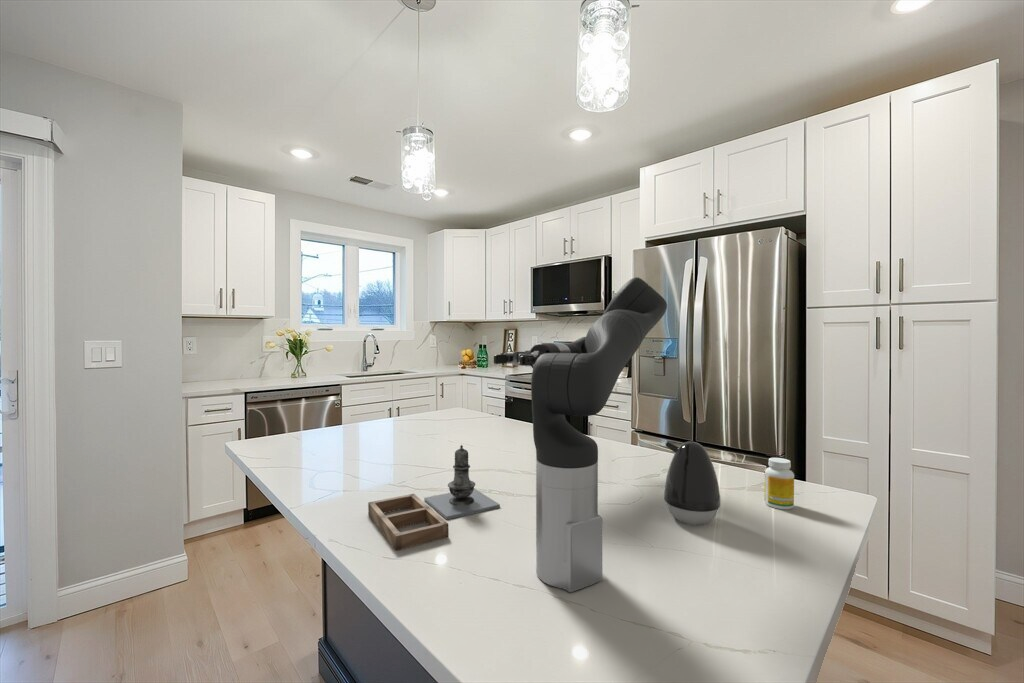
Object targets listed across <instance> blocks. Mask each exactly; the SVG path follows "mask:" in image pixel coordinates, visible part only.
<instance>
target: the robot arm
mask: <svg viewBox="0 0 1024 683" xmlns="http://www.w3.org/2000/svg"><path fill="white" fill-rule="evenodd" d="M667 308H668V304H667V301H666V299H665V298H664V297H663V296H662V295H661V294H660V293H659V292H658V291H657V290H656V289H654V288H653V287H652V286H651V285H649V284H648V283H647V282H646V281H645V280H643V278H640V277H635V276H634V277H633V278H631V279H629V280H628V281H626V282H625V283H624V284H623V285H622V286H621V287H620V288H619V290H617V292H616V293H615V295H613V297H612V298H611V300H610V302H609V303H608V305H607V307H606V309H605V310H604V312H603V314H602V315H601V316H600V317H599V318H598V319H597V320H595V322H593V323H592V325H591V326H590V328H588V331H587V332H586V336H582V337H579V338H578V339H576V340H574V341H572V342H569V343H566V342H565V343H559V342H544V343H542V342H538V343H536V344H534V345H533V346H532V347H531V348H530V350H524V351H513V352H502V353H500V354H494V355H493V364H494V365H501V364H502V365H503V364H505V365H509V364H510V365H511V364H512V365H513V366H522V367H523V366H524V367H531V369H532V372H531V377H530V378H531V380H530V382H531V383H530V384H531V385H530V391H531V394H530V396H531V412H532V414H531V415H532V432H533V433H532V434H533V443H534V447H535V452H536V453H535V454H536V456H535V462H536V463H535V464H536V465H535V466H536V467H535V468H536V470H535V472H536V474H535V477H536V478H535V480H536V482H535V490H536V491H535V494H536V495H535V499H536V500H535V506H536V507H535V512H536V513H535V514H536V516H535V519H536V520H535V522H536V524H535V526H536V527H535V529H536V532H535V533H536V534H535V536H536V537H535V539H536V540H535V547H536V549H535V550H536V560H535V561H536V565H535V566H536V576H537V577H538V578H539V579H540V581H542V582H543V583H545V584H547V585H549V586H552V587H555V588H559V589H563V590H566V591H567V592H569V593H573V592H575V591H578V590H581V589H583V588H587V587H589V586H592V585H594V584H596V583H599V582H602V581H603V516H602V515H600V514H599V507H598V506H599V505H598V502H599V498H598V497H599V493H598V492H599V488H598V483H599V482H598V481H599V469H598V468H599V464H598V463H599V447H598V443H597V442H596V441H595V439H593V438H591V437H590V436H589V435H586V434H584V433H583V432H580V431H579V430H578V429H576V428H574V427H573V426H572V425H571V424H570V423H569V422H568V421H567V418H566V416H575V417H591V416H595V415H597V414H598V413H600V412H601V411H602V410H603V409H604V407H605V405H606V404H607V402H608V401H609V398H610V396H611V394H612V392H613V390H614V388H615V385H616V383H617V381H618V379H619V377H620V375H621V373H622V372H623V370H624V369H625V367H626V365H627V364H628V363H629V361H630V360H631V358H632V357H634V355H635V354H636V352H637V351H638V349H639V348H640V346H641V345H642V343H643V341H644V339H645V338H646V336H647V335H648V333H649V332H650V331H651V330H652V329H653V328H654V327H655V326H656V325H657V324H658V323H659V322H660V321H661V319H662V318H663V317H664V315H665V313H666V311H667Z"/></svg>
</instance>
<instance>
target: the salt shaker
mask: <svg viewBox="0 0 1024 683" xmlns="http://www.w3.org/2000/svg"><path fill="white" fill-rule="evenodd" d="M459 447H460V448H459V449H457V450H456V451H455V452H454V465H453V466H452V468H453V470H454V474H453V475H454V477H453V479H452V481H450V482H448V484H447V487H448V490H449V493H451V494H452V495H453V496H454V497H452V498H451V499H450V500H449V503H450V504H453V505H458V506H462V505H469V504H471V503H473V502H474V499H473V498H472V497H471V496H470V495H471V494H472V492H473V490H474V488H475V487H476V482H475V481H473V480H471V479H470V475H469V474H470V473H469V471H470V470H469V469H470V467H471V465H470V464H469V452H468V450H467V449H464V448H463V447H464V446H463V444H461V445H460V446H459Z"/></svg>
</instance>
